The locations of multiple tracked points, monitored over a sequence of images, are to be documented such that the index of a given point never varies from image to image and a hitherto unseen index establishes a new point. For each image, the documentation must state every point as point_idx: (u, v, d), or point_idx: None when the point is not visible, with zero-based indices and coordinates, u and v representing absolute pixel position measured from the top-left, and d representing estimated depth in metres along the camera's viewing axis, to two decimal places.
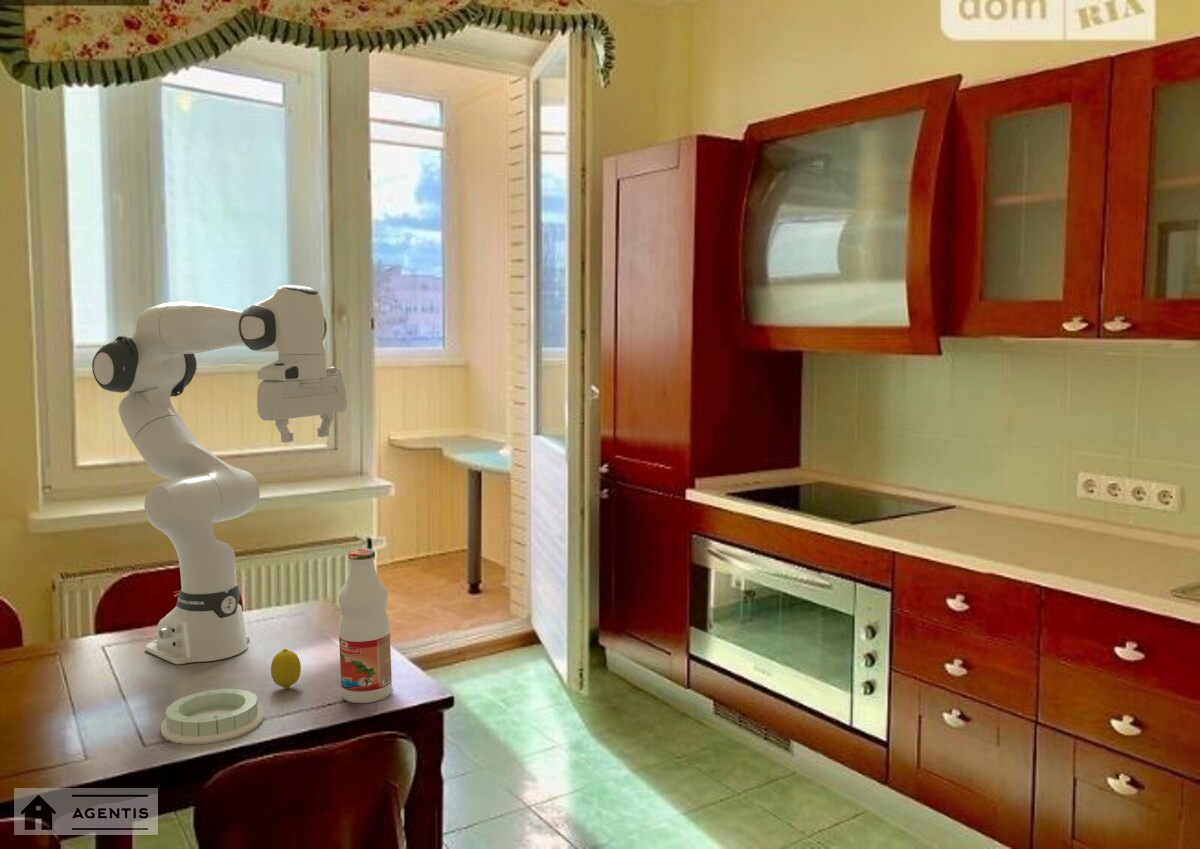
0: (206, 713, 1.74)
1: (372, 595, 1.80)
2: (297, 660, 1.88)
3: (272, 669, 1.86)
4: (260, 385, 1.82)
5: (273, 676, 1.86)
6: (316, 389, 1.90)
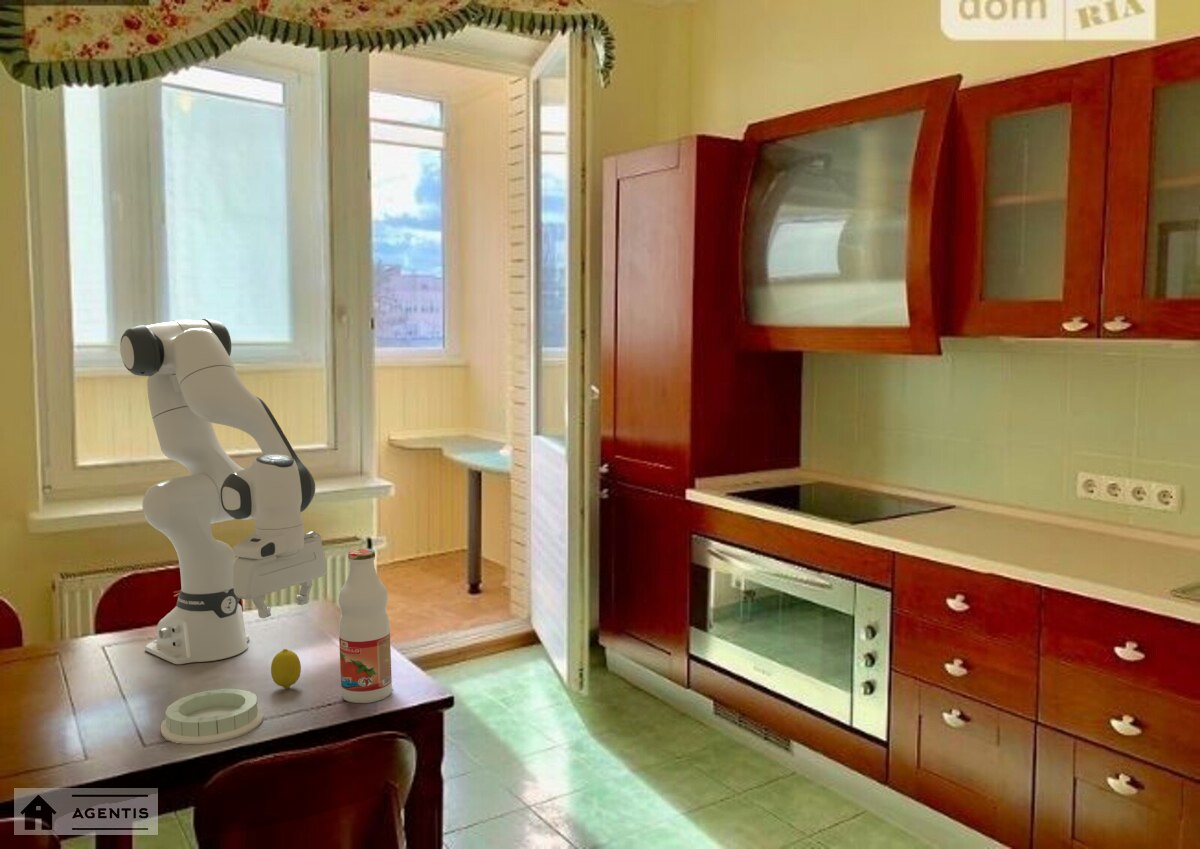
0: (206, 713, 1.74)
1: (372, 595, 1.80)
2: (297, 660, 1.88)
3: (272, 669, 1.86)
4: (236, 563, 1.79)
5: (273, 676, 1.86)
6: (294, 559, 1.87)
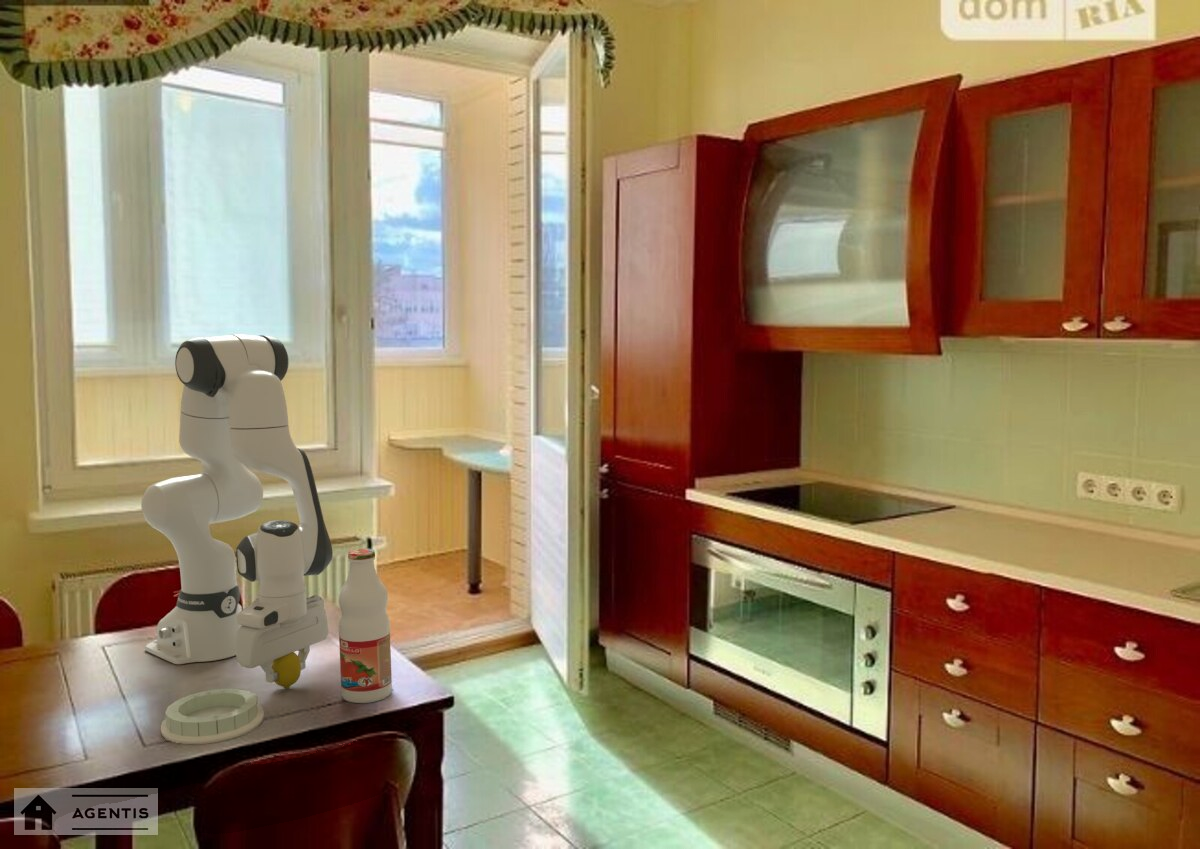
0: (206, 713, 1.74)
1: (372, 595, 1.80)
2: (297, 660, 1.88)
3: None
4: (239, 631, 1.80)
5: None
6: (296, 625, 1.88)
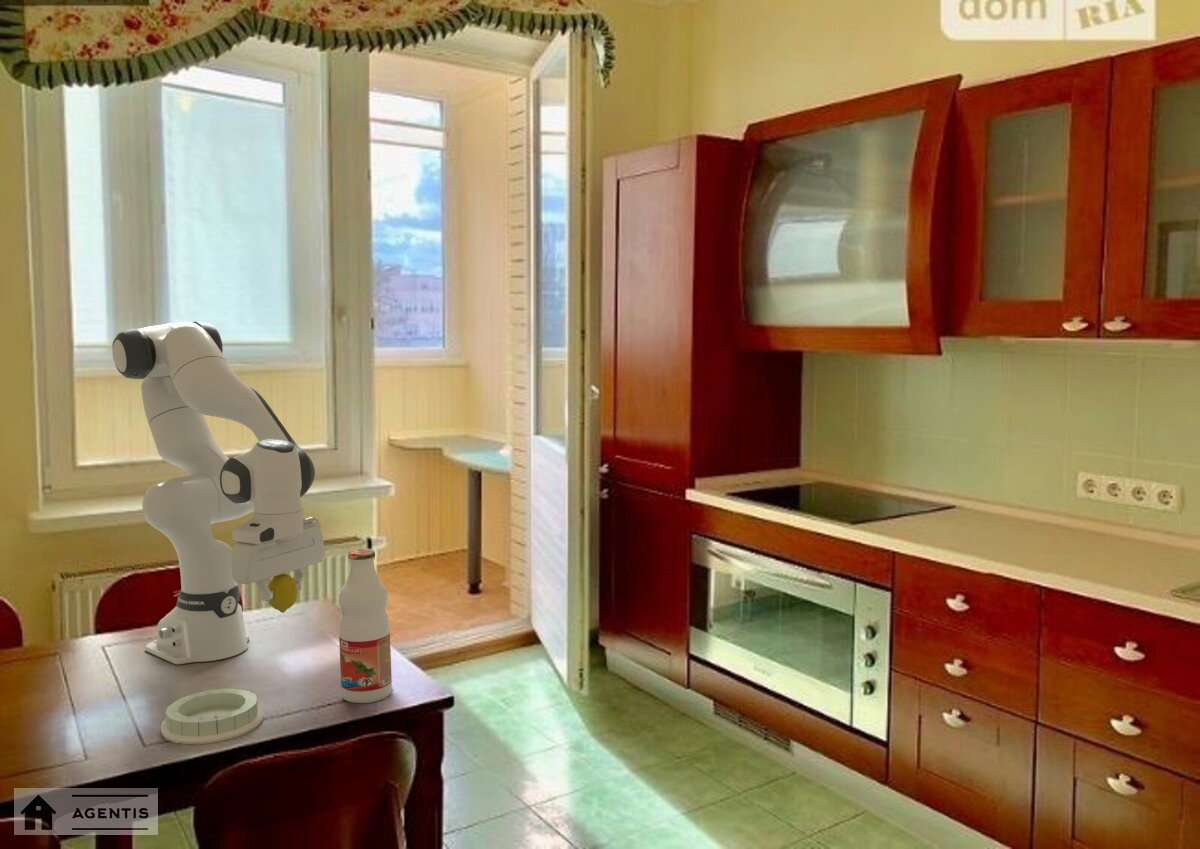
0: (206, 713, 1.74)
1: (372, 595, 1.80)
2: (293, 583, 1.86)
3: None
4: (234, 547, 1.78)
5: None
6: (293, 544, 1.86)
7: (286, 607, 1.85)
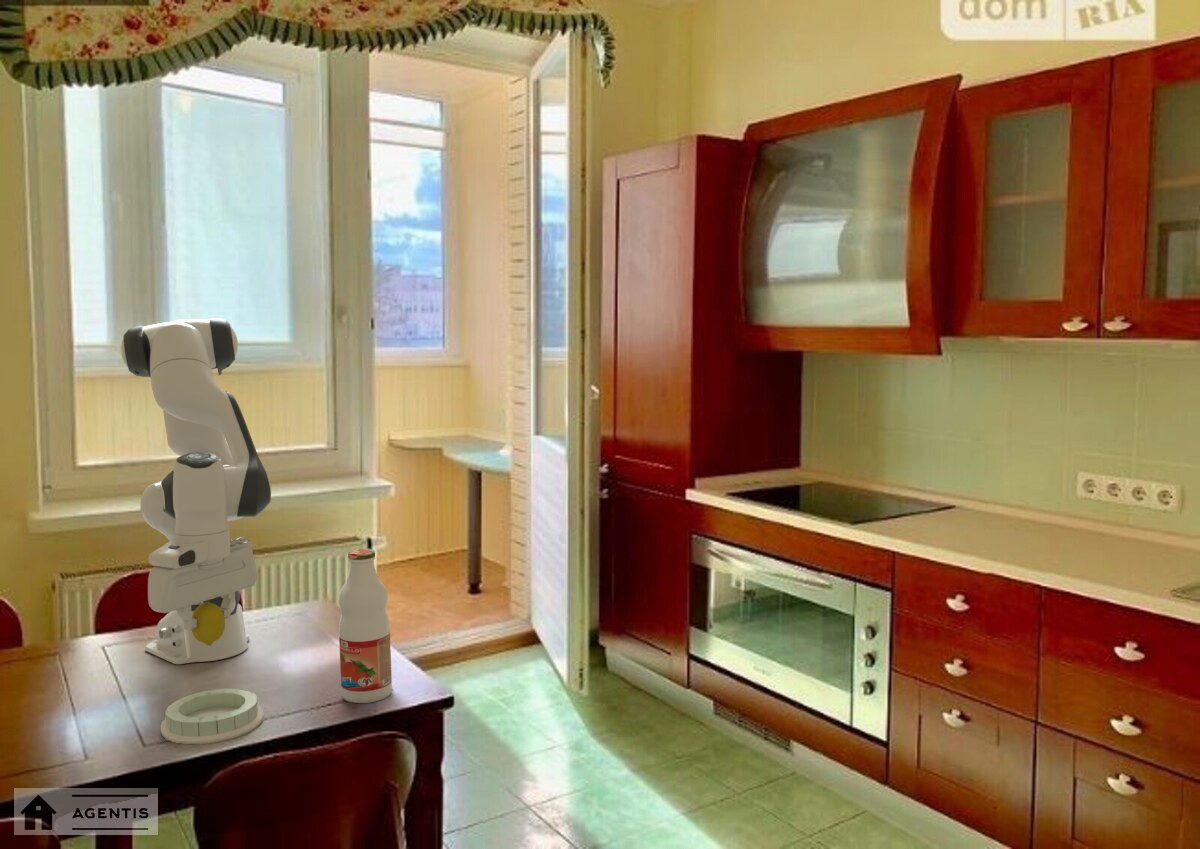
0: (206, 713, 1.74)
1: (372, 595, 1.80)
2: (220, 614, 1.70)
3: None
4: (151, 572, 1.62)
5: (193, 631, 1.69)
6: (219, 568, 1.70)
7: (212, 640, 1.69)
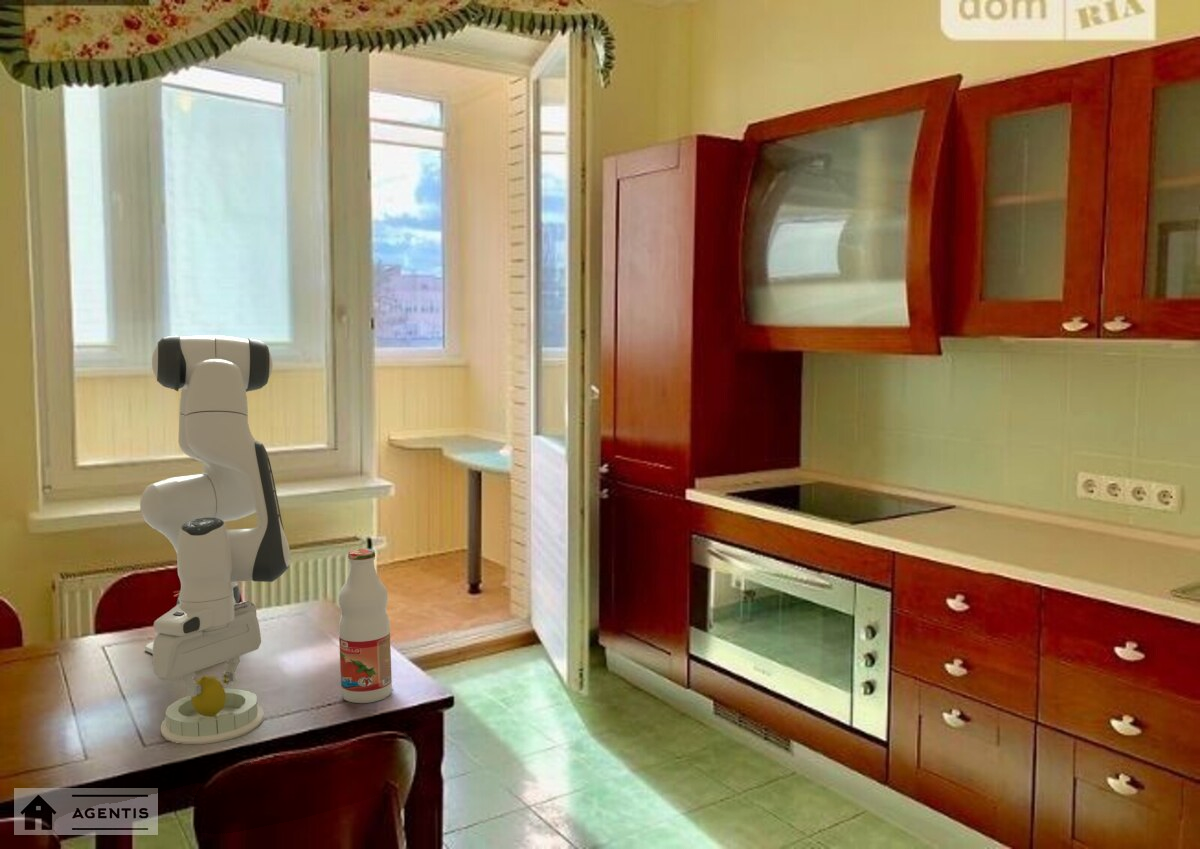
0: None
1: (372, 595, 1.80)
2: (218, 687, 1.71)
3: (192, 700, 1.69)
4: (156, 639, 1.63)
5: (194, 707, 1.70)
6: (223, 633, 1.71)
7: (215, 713, 1.70)
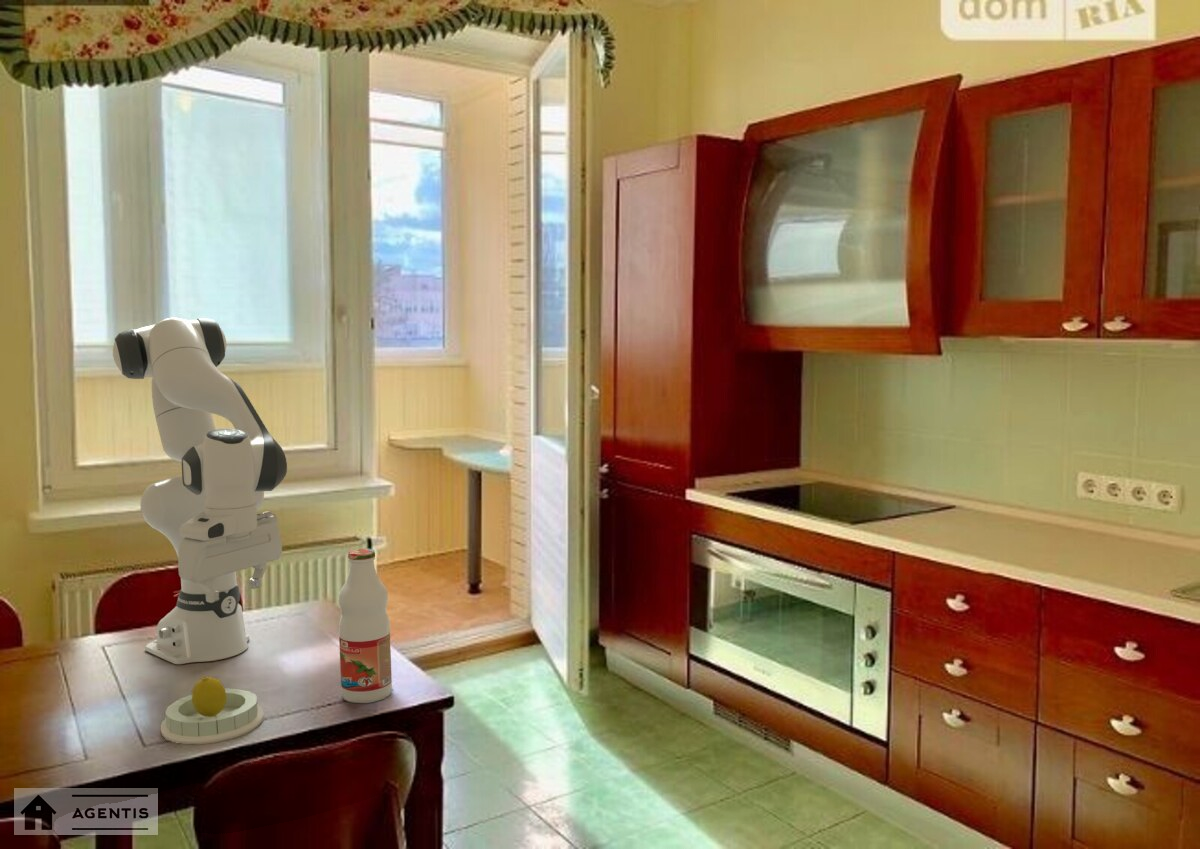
0: None
1: (372, 595, 1.80)
2: (221, 686, 1.71)
3: (195, 702, 1.69)
4: (181, 543, 1.68)
5: (197, 709, 1.69)
6: (246, 541, 1.76)
7: (218, 712, 1.71)
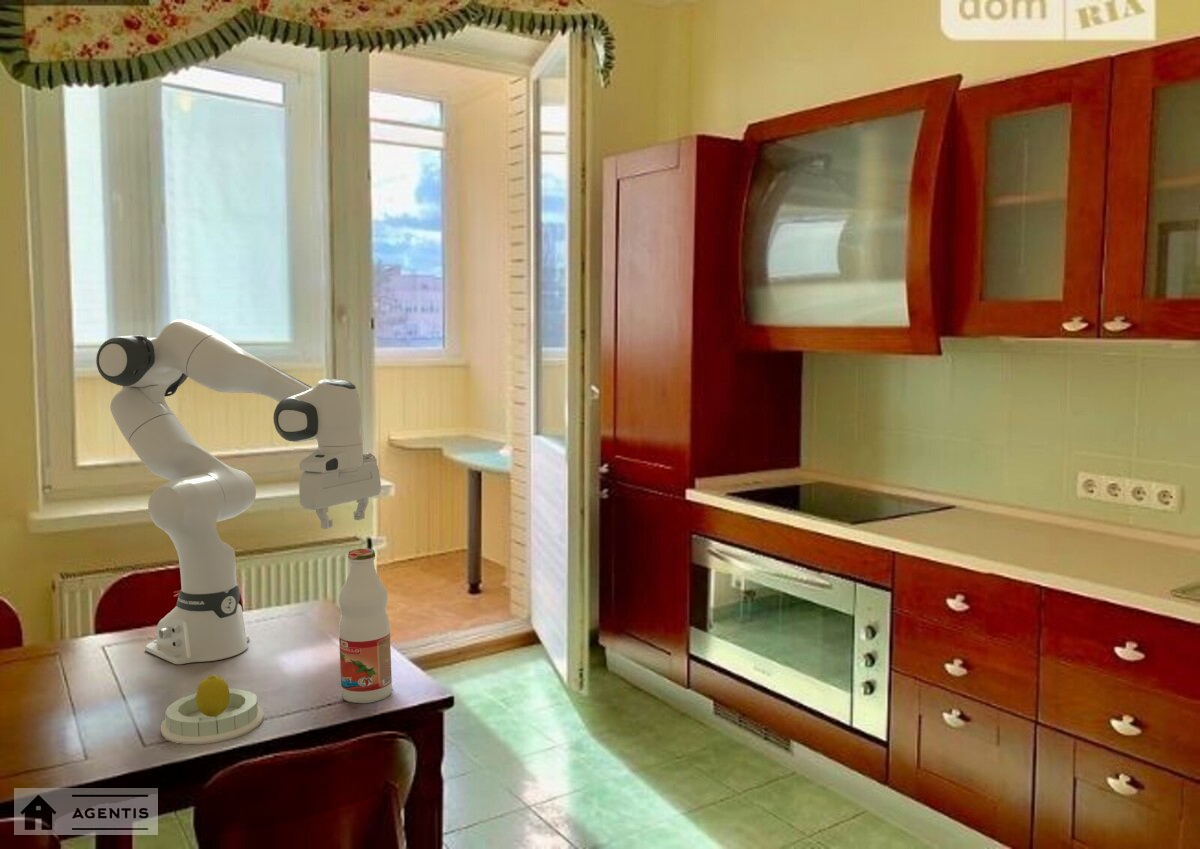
0: None
1: (372, 595, 1.80)
2: (227, 685, 1.72)
3: (201, 699, 1.69)
4: (302, 476, 1.93)
5: (202, 706, 1.69)
6: (353, 476, 2.01)
7: (221, 712, 1.71)
